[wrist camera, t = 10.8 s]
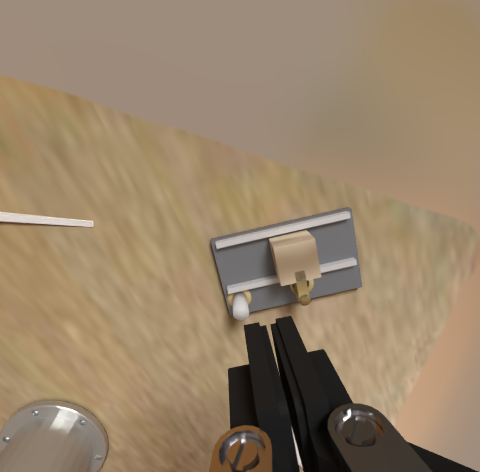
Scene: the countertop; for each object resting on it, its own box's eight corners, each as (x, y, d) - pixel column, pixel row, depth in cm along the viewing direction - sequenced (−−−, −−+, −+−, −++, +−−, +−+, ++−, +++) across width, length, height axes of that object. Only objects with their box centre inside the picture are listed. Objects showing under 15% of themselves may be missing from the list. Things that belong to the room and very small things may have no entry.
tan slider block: (316, 286, 36) (325, 300, 33) (280, 294, 36) (286, 309, 33) (306, 229, 34) (315, 238, 31) (268, 238, 34) (273, 248, 31)
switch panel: (358, 283, 37) (376, 301, 33) (230, 312, 38) (230, 333, 33) (348, 207, 35) (365, 215, 31) (211, 238, 35) (209, 251, 31)
